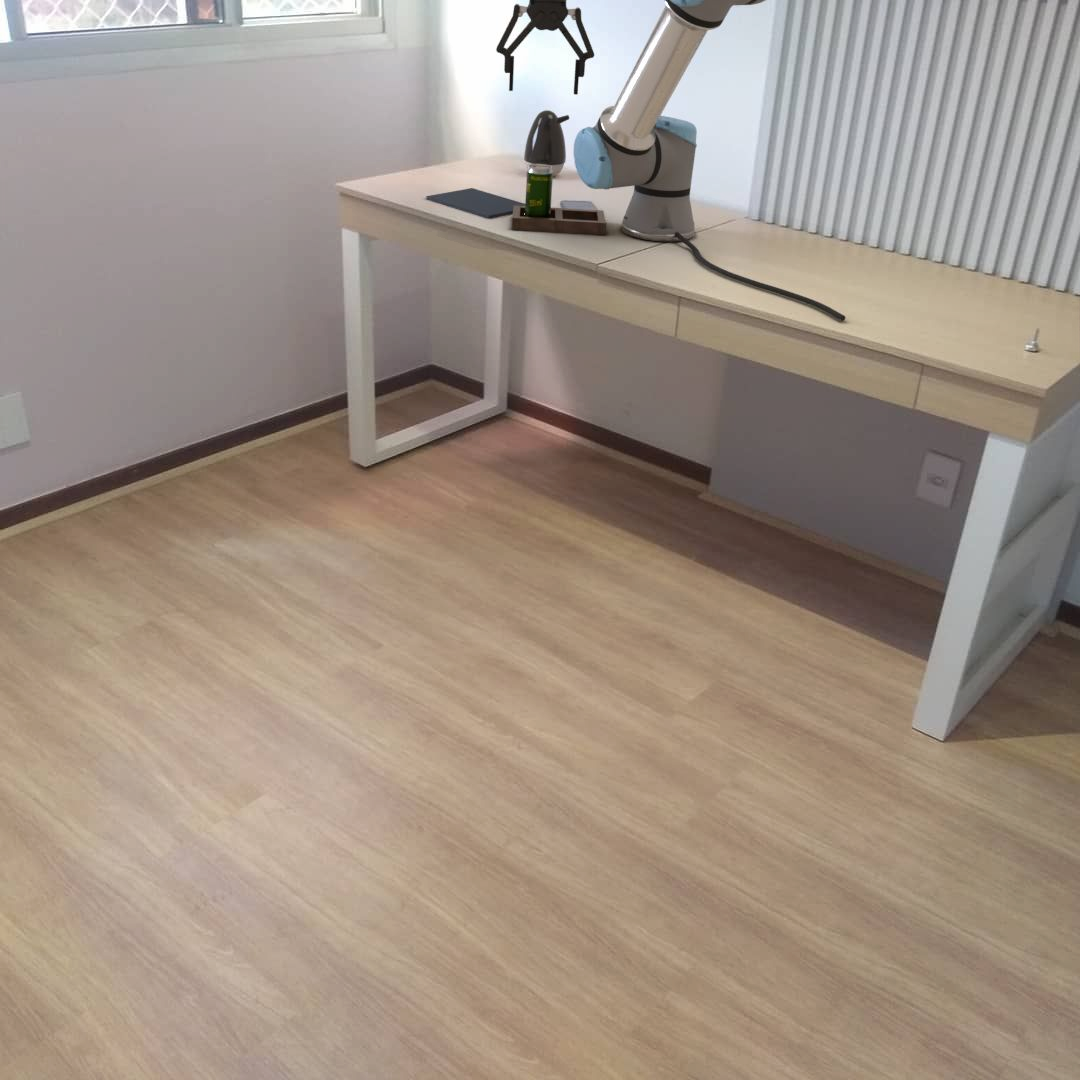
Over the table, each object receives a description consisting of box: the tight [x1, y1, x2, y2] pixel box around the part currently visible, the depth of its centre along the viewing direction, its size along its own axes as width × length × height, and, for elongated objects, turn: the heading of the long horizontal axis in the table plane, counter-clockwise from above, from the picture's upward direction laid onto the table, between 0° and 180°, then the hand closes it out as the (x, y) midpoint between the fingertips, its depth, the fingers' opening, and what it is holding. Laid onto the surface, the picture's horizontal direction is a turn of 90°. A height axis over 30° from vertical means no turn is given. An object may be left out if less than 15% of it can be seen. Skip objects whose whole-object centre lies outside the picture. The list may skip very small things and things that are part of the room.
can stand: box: [511, 205, 607, 236], centre depth 244 cm, size 19×10×2 cm, turn 90°
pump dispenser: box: [523, 109, 570, 178], centre depth 281 cm, size 10×10×15 cm
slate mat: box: [425, 187, 525, 219], centre depth 257 cm, size 20×14×1 cm
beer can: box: [524, 164, 554, 218], centre depth 242 cm, size 5×5×12 cm
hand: (543, 91), depth 244 cm, fingers open, 13 cm apart
